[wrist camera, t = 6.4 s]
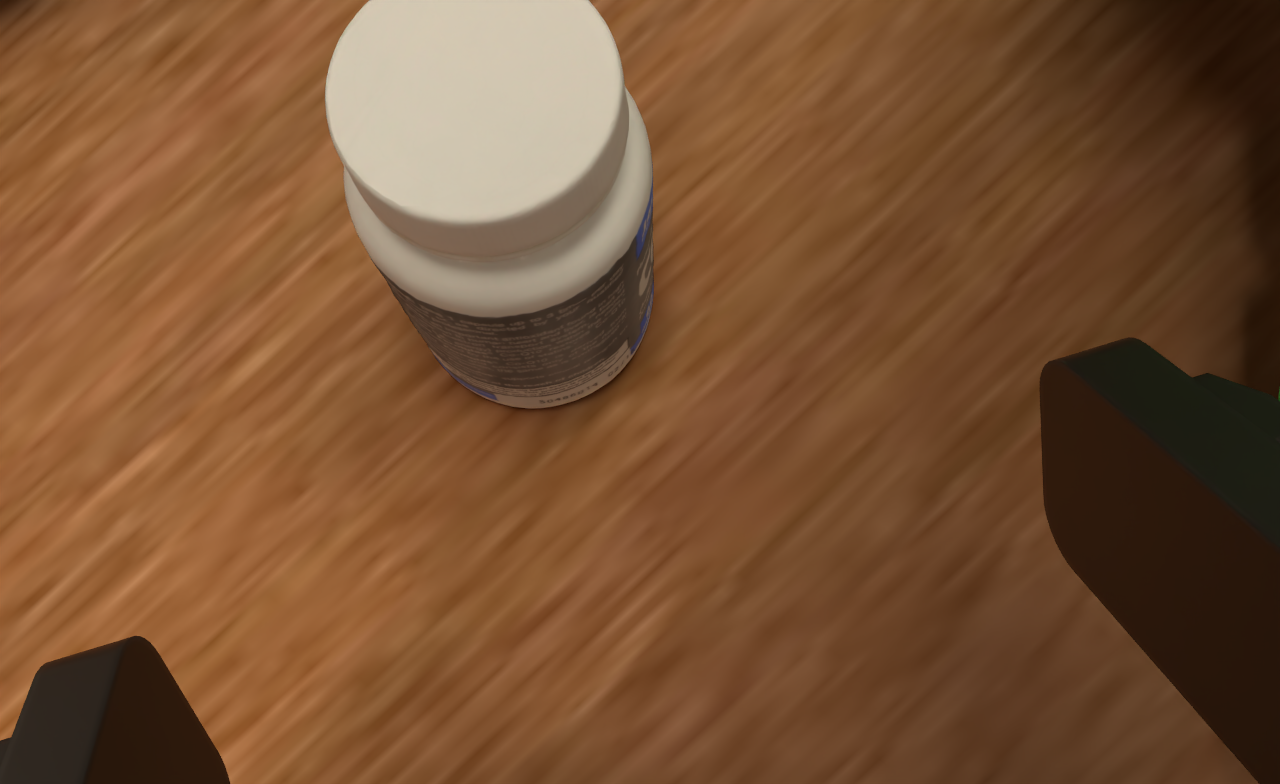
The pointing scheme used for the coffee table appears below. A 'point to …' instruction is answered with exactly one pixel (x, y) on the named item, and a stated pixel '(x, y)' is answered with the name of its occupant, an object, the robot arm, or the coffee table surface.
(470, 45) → the pill bottle
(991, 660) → the coffee table surface
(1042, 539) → the coffee table surface
